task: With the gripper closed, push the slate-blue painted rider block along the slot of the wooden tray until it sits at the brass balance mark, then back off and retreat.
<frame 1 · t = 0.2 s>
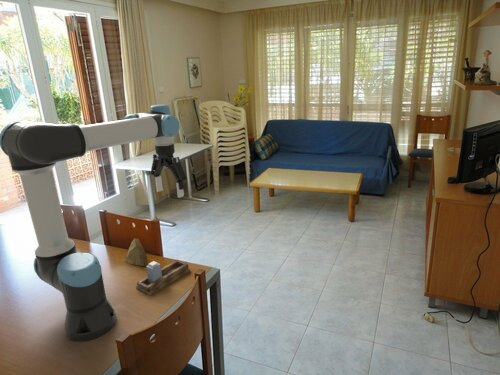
hand: (170, 193, 153), 28 cm above the table, fingers open, 13 cm apart
rock: (136, 263, 154), on the table
wooden tray: (164, 279, 141), on the table
rider: (154, 272, 136), point 5 cm above the table, slide at 0.0 cm
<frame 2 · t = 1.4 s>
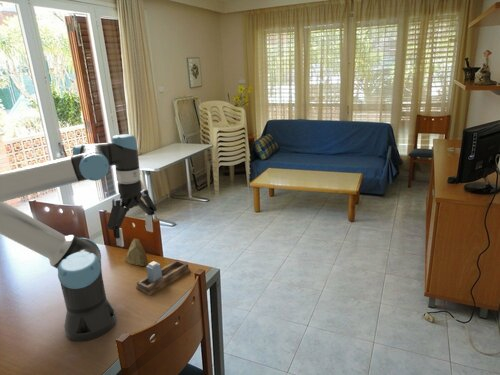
hand: (135, 238, 129), 21 cm above the table, fingers open, 13 cm apart
nothing on the table moved.
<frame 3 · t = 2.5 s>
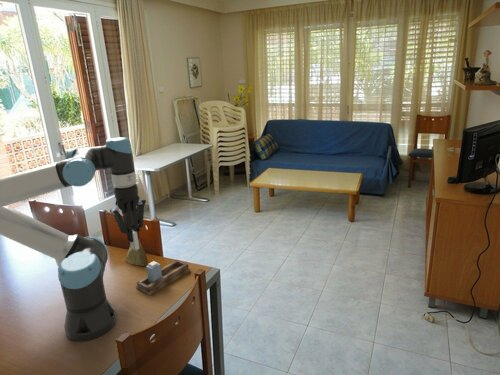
hand: (135, 248, 128), 18 cm above the table, fingers closed
nothing on the table moved.
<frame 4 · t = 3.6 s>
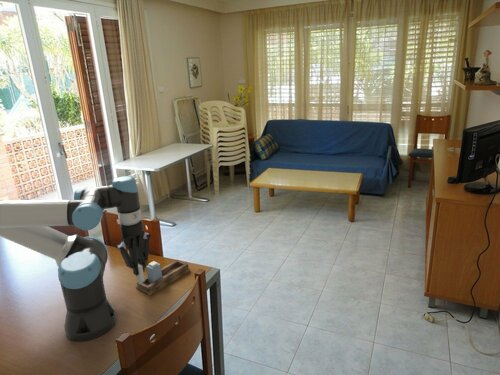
hand: (140, 280, 132), 5 cm above the table, fingers closed
nothing on the table moved.
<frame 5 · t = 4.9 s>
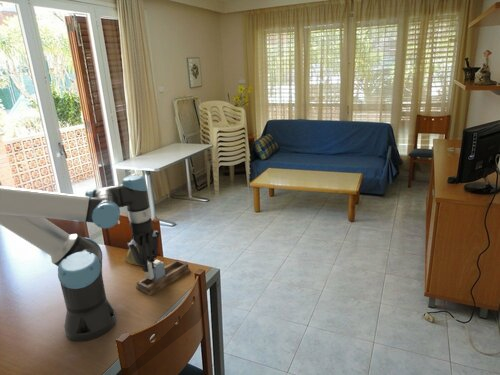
hand: (150, 277, 135), 4 cm above the table, fingers closed
rider: (157, 270, 138), point 5 cm above the table, slide at 1.6 cm, touching gripper
everything else where it was.
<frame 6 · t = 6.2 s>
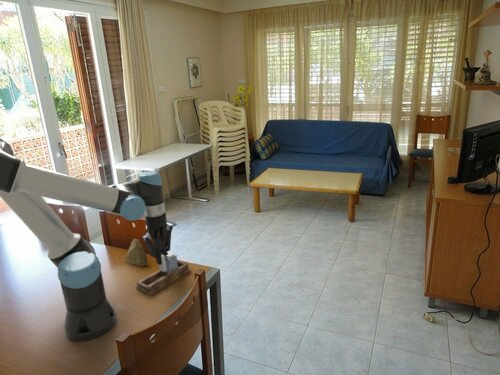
hand: (163, 270, 140), 4 cm above the table, fingers closed
rider: (170, 263, 142), point 5 cm above the table, slide at 8.0 cm
everything else where it was.
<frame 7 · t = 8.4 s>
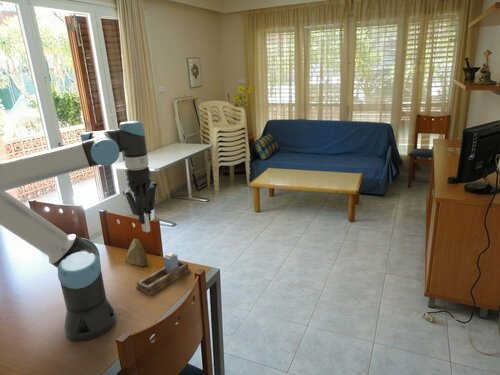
hand: (146, 230, 131), 22 cm above the table, fingers closed
rider: (171, 262, 143), point 5 cm above the table, slide at 8.3 cm
everything else where it was.
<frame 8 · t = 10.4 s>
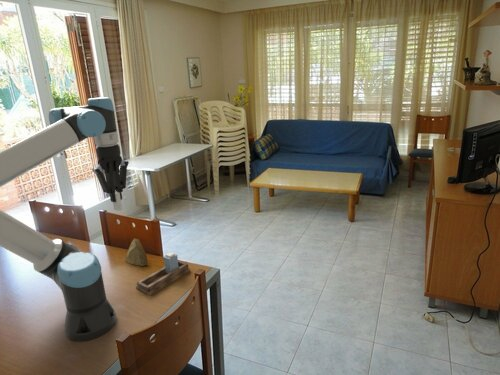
hand: (118, 209, 130), 30 cm above the table, fingers closed
nothing on the table moved.
at the end: rider slide at 8.3 cm; rider touching nothing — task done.
